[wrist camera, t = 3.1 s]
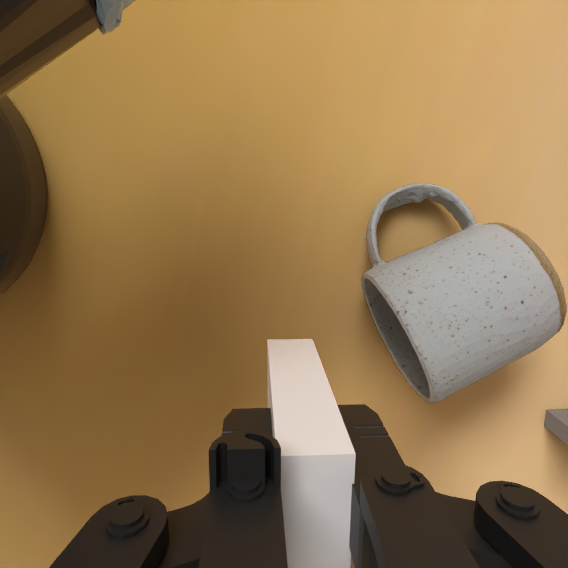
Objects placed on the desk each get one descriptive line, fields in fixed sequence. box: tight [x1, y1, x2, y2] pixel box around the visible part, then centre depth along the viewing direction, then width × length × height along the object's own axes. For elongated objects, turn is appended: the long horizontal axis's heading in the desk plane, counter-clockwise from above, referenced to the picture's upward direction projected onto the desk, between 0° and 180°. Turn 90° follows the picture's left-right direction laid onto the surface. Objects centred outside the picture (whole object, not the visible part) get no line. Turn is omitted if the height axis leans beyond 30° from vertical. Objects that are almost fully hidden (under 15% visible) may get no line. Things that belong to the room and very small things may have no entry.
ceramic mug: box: [362, 183, 566, 403], centre depth 24 cm, size 11×8×8 cm
